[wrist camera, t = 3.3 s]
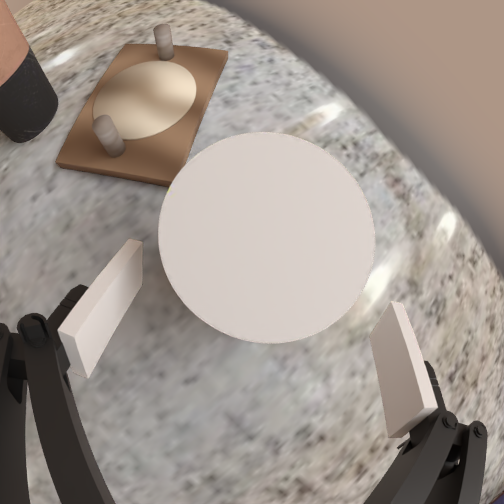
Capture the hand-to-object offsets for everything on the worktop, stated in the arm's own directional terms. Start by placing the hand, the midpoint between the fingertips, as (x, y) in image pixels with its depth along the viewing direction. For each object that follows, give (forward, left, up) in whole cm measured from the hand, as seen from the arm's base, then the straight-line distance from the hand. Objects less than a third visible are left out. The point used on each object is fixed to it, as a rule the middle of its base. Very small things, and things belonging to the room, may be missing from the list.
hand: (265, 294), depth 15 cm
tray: (-20, +6, -7) cm, 22 cm away
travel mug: (-31, -3, -7) cm, 32 cm away
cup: (-2, +1, -7) cm, 8 cm away
